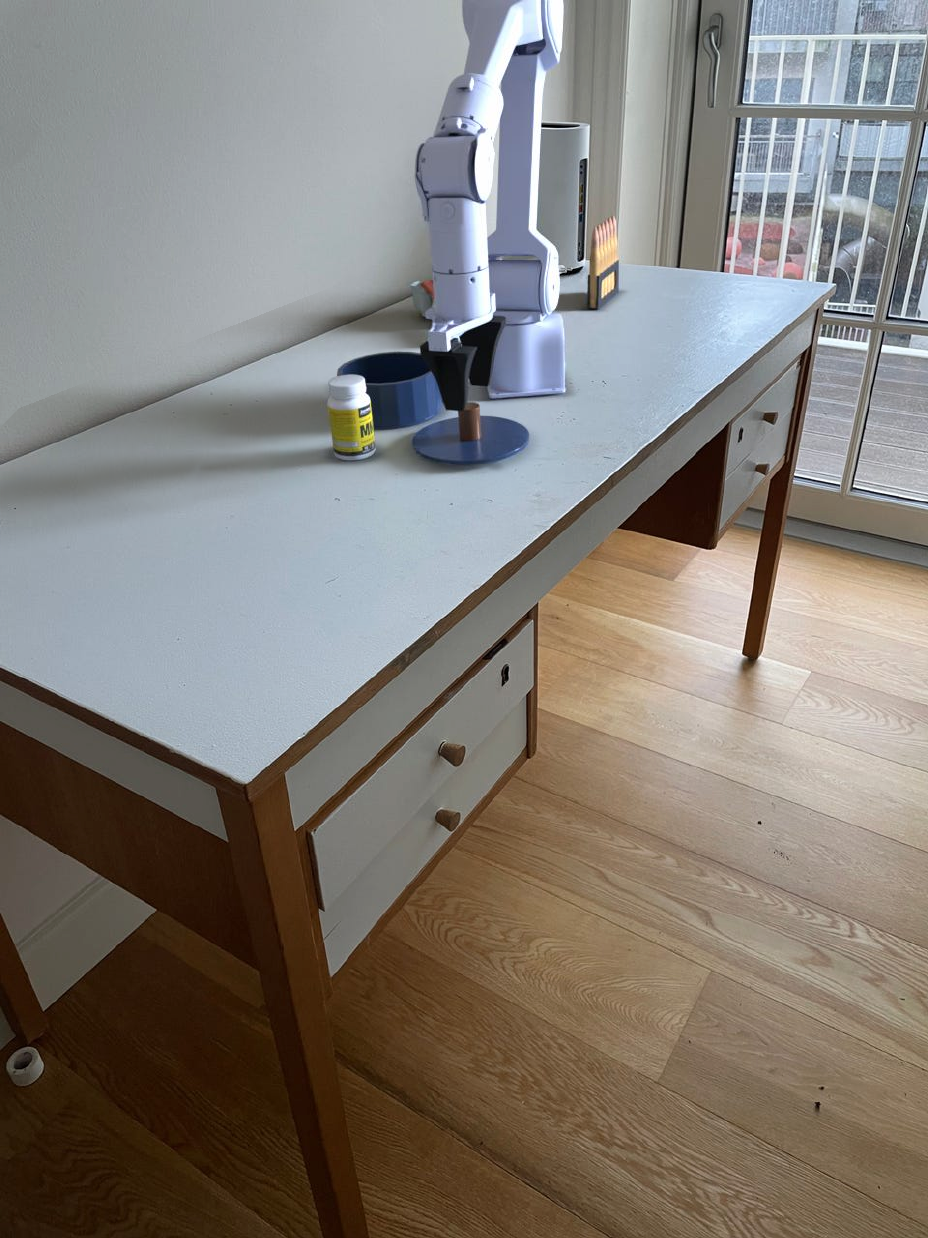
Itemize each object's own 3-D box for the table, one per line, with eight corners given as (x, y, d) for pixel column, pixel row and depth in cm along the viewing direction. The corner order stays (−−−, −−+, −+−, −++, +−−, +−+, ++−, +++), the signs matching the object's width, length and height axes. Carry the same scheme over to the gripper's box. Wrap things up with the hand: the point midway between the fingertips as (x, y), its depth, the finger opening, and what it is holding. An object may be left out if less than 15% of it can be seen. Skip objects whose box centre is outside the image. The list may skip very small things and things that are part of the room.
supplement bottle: (369, 462, 107) (360, 388, 102) (328, 461, 108) (317, 387, 103) (381, 445, 111) (373, 372, 106) (341, 444, 112) (331, 372, 107)
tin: (440, 389, 125) (437, 348, 122) (443, 425, 115) (440, 380, 112) (345, 397, 125) (340, 355, 122) (340, 432, 115) (333, 388, 112)
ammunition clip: (598, 310, 151) (599, 228, 145) (586, 309, 152) (587, 227, 145) (618, 291, 159) (620, 213, 153) (607, 291, 160) (609, 213, 153)
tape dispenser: (468, 357, 140) (535, 311, 153) (466, 321, 137) (534, 277, 150) (369, 338, 148) (441, 296, 161) (365, 303, 145) (439, 263, 158)
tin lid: (475, 415, 117) (473, 377, 114) (553, 443, 108) (553, 402, 106) (389, 448, 110) (385, 408, 107) (466, 481, 101) (463, 438, 99)
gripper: (449, 249, 106) (457, 372, 113) (394, 284, 94) (408, 418, 102) (511, 251, 103) (515, 376, 111) (463, 286, 92) (471, 423, 99)
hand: (468, 396), depth 106 cm, fingers open, 7 cm apart
